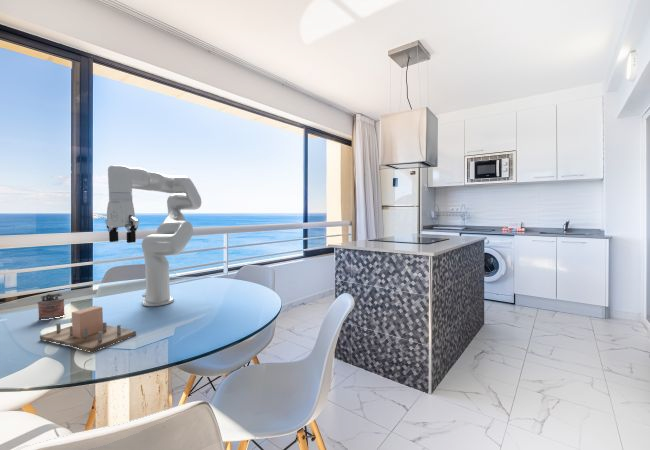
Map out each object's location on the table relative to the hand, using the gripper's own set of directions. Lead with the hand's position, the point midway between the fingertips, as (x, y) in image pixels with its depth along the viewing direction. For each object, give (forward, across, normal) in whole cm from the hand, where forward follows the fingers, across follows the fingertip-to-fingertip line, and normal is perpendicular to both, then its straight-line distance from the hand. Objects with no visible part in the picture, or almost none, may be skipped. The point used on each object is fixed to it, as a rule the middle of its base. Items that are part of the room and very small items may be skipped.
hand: (122, 242), depth 119 cm
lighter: (+31, -28, -10) cm, 43 cm away
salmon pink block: (+29, +6, -17) cm, 34 cm away
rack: (+30, +6, -17) cm, 35 cm away
